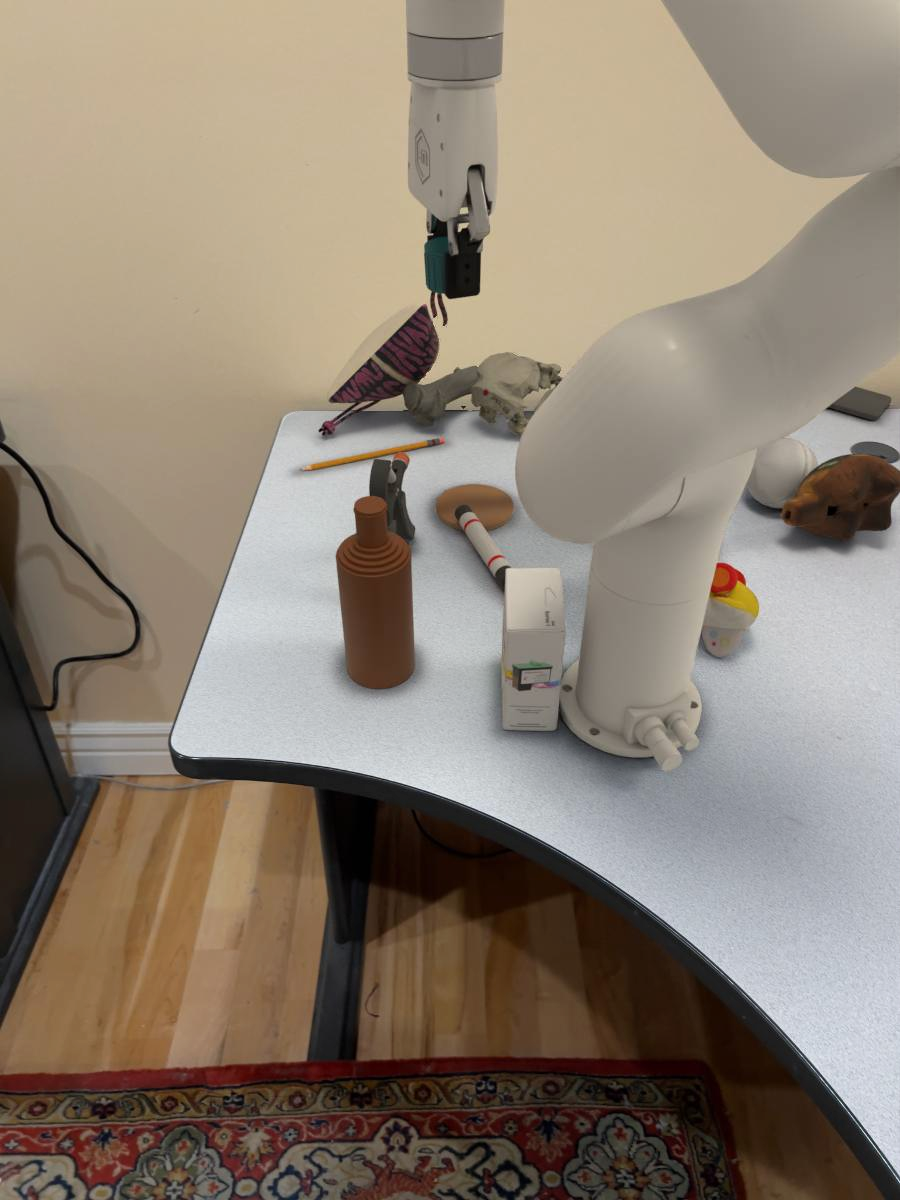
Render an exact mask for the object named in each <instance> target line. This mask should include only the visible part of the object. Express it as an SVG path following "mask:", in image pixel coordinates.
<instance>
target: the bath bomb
mask: <svg viewBox="0 0 900 1200" xmlns="http://www.w3.org/2000/svg"><path fill="white" fill-rule="evenodd" d="M817 466H819V462H818V459H817V456H816V455H815V453H814V452H813V450H812V449H811V448H810V447H809V446H808V445H807V444H805V443H804V442H802V441H800V440H798V439H795V438H791V437H784V438H782V439H779V440H777V441H775V442H772V443H770V444H768V445H765V446H763V447H760V448H757V453H756V458H755V462H754V465H753V468H752V471H751V474H750V476H749V479H748V481H747V483H746V486H745V487H746V488H747V490H748V493H749V494H750V495H751V496H752V497H753V498H754V499H755V500H756V501H757V502H759V503H760V504H762V505H763V506H765V507H769V508H772V509H783V506H784V504H785V503H786V502H787V501H789V500H791V499H793V498H795V495H796V492H797V490H798V488H799V486H800V484H801V483H802V481H803V480H804V478H805V477H806V476H807V475H808V474H809V473H810V472H811V471H812V470H813V469H815V468H816V467H817Z"/></svg>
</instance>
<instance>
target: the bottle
mask: <svg viewBox="0 0 900 1200" xmlns="http://www.w3.org/2000/svg"><path fill="white" fill-rule="evenodd" d="M386 510H387V504H386V502H385V501H384V500H383V499H382V498H380V497H377V496H369V495H366V496H363V497H360V498H358V499H357V500H356V501H355V502H354V504H353V513H354V521H355V530H356V531H355V533H353V534H351V535H349V536H348V537H347V538H345V539H344V540H343V541H341V543H340V544H339V546H338V548H337V550H336V552H335V563H336V572H337V573H336V574H337V585H338V591H339V592H338V594H339V603H340V614H341V622H342V635H343V644H344V653H345V663H346V672H347V673H348V675H349V677H350V679H352V680H353V681H354V683H357V684H358V685H360V686H361V687H365V688H368V689H376V690H383V689H391V688H394V687H396V686H399V685H401V684H402V683H404V682H405V681H407V680H408V679H409V678H410V677H411V676H412V675H413V672H414V670H415V669H416V668H415V667H416V652H415V651H416V649H415V630H414V629H415V625H414V599H413V598H414V597H413V596H414V595H413V571H412V570H413V569H412V549H411V547H410V545H409V544H408V542H406V540H404V539H403V538H401V537H400V536H398V535H397V534H394V533H392V532H389V531H387V512H386Z"/></svg>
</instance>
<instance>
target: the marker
mask: <svg viewBox="0 0 900 1200" xmlns="http://www.w3.org/2000/svg"><path fill="white" fill-rule="evenodd" d="M455 517H456V518H457V520H458V521H459V523H460V525H461V527H462V528H463V530H462V531H463V532H464V533H465V534H466V536H467V537H468V539H469V540H470V542H471V543H472V545H473V547H474V548H475V550H476V551H477V553H478V554H479V556H480V557H481V559H482V560H483V562H484V563H485V565H486V566H487V568H488V570H489V571H490V572H491V574H492V575H493V577H494V579H495V580H496V581H497V583H498V584H499V586H500V587H501V588H502V589H504V590H505V575H506V569H507V568H512V566H511V564H510V563H509V562H508V560H507V559H506V557H505V556H504V555H503V553H502V552H501V550H500V549H499V547H498V546H497V544H496V543H495V541H494V540H493V538H492V537H491V536H490V534H489V533H488V530H487V531H486V530H485V528H484V527H483V525H482V524H481V522H480V521H479V519H478V518H477V517H476V515H475V514H474V513H473V511H472V510H471V508H470V507H469V506H468V505H461V506H459V507H458V508H457V509H456V510H455Z"/></svg>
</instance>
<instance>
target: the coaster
mask: <svg viewBox="0 0 900 1200" xmlns="http://www.w3.org/2000/svg"><path fill="white" fill-rule="evenodd" d="M461 505H468V506H469V507H470V508H471V510H472V511H473V513H474V514H475V515H476V517H477V518H478V519H479V521H480V522H481V524H482V525H483V527H484V528H485V530H486V531H487V532H488V531H490V530H491V531H492V530H495V529H497V528H500V527H502V526H503V525H505V524H507V523H508V522H509V521H510V520H511V519H512V517H513V515H514V510H515V503H514V500H513V499H512V497H511V496H510V495H509V494H508V493H507V492H505V491H503V490H502V489H500V488H497V487H495V486H493V485H492V486H491V485H488V484H483V483H468V484H462V485H461V484H460V485H456V486H454V487H451V488H448V489H447V490H445V491H443V492H442V493H441V494H439V496H438V497H437V499H436V502H435V513H436V516H437V518H439V520H440V521H441V522H443V523H444V524H445V525H446V526H448V527H451V528H453V529H455V530H460V531H464V530H463V528H462V527H461V525H460V523H459V521H458V520H457V518H456V517H455V510H456V509H457V508H458V507H459V506H461Z"/></svg>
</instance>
